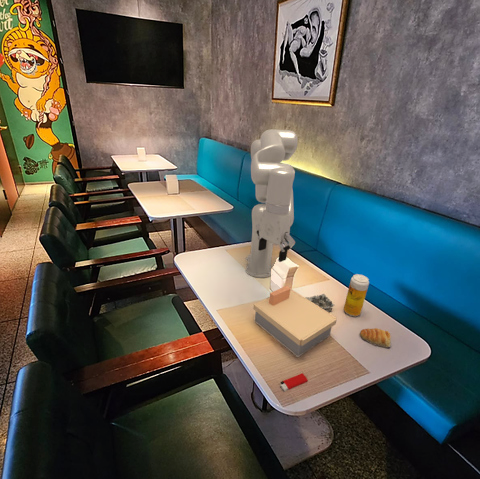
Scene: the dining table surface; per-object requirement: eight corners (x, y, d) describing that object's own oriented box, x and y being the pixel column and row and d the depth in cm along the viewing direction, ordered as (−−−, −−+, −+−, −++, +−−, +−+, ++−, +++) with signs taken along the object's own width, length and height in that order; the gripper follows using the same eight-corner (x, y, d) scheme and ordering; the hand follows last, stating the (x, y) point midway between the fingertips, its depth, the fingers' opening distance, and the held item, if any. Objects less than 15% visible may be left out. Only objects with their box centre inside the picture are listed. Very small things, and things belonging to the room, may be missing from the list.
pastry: (360, 343, 99) (362, 334, 98) (358, 329, 105) (360, 321, 104) (390, 349, 97) (393, 340, 96) (386, 336, 103) (389, 327, 102)
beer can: (339, 309, 115) (348, 275, 109) (352, 305, 118) (361, 272, 111) (351, 318, 110) (360, 284, 104) (363, 315, 113) (373, 281, 106)
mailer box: (254, 321, 106) (256, 306, 103) (285, 305, 115) (288, 291, 112) (297, 357, 92) (300, 340, 89) (329, 336, 101) (333, 320, 98)
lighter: (308, 379, 84) (284, 389, 80) (307, 383, 84) (283, 393, 81) (301, 372, 86) (278, 381, 82) (301, 375, 86) (277, 384, 83)
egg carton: (310, 317, 110) (312, 308, 108) (299, 305, 116) (301, 296, 115) (334, 312, 114) (336, 303, 112) (323, 300, 120) (324, 291, 118)
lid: (253, 309, 103) (254, 294, 100) (288, 292, 114) (291, 278, 111) (300, 346, 88) (303, 330, 86) (336, 323, 99) (340, 308, 96)
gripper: (250, 202, 100) (247, 248, 107) (289, 218, 88) (282, 268, 96) (266, 198, 105) (262, 243, 112) (306, 213, 93) (298, 262, 100)
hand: (271, 254), depth 104 cm, fingers open, 9 cm apart
